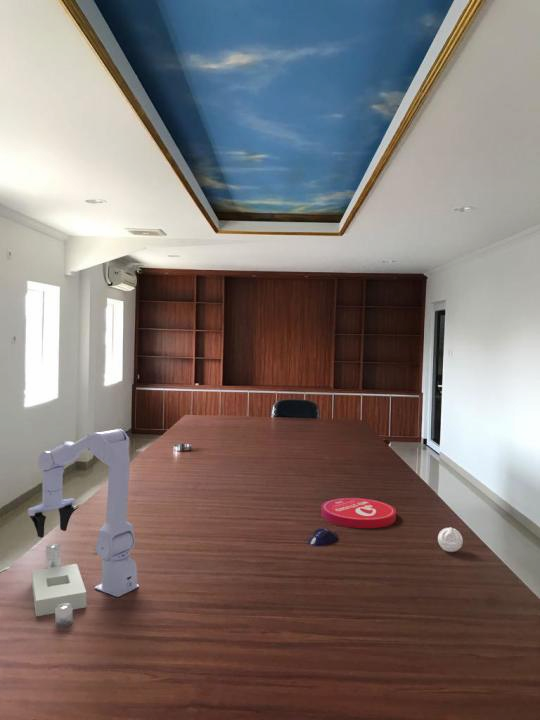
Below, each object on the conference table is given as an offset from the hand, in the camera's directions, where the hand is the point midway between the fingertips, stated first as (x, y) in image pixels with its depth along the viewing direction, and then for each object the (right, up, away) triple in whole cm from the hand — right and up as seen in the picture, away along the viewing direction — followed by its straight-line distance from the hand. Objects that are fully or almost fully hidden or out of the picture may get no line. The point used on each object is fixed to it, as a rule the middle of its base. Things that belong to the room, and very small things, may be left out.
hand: (52, 533), depth 167 cm
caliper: (+9, -10, +21) cm, 25 cm away
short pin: (+16, -11, -34) cm, 39 cm away
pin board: (+9, -11, -19) cm, 24 cm away
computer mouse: (+85, -12, +28) cm, 90 cm away
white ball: (+128, -12, +19) cm, 130 cm away
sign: (+103, -11, +56) cm, 117 cm away
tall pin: (+2, -10, -5) cm, 11 cm away
